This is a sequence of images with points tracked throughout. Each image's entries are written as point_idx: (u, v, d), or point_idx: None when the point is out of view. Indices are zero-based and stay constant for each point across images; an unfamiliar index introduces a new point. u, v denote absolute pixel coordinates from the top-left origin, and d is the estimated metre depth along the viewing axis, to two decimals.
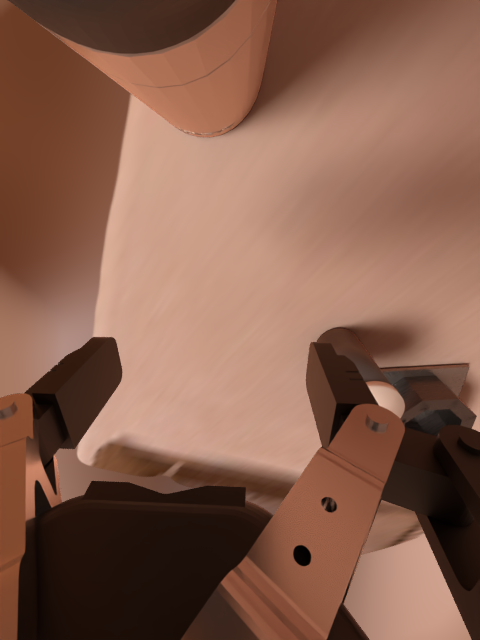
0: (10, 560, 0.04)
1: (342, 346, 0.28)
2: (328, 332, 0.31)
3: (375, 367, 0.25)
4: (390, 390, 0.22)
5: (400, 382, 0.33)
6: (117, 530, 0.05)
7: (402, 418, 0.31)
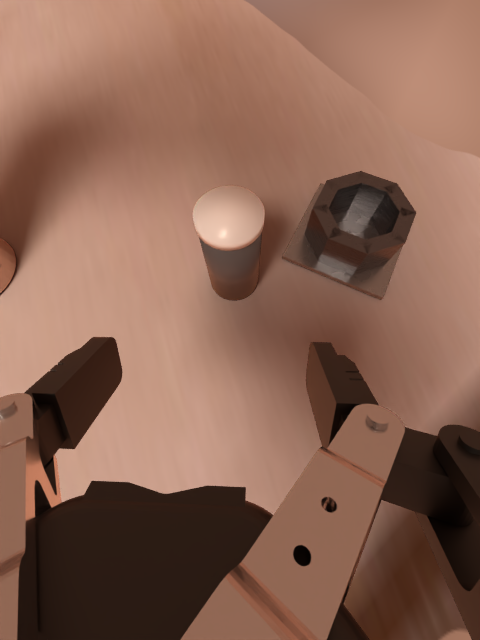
0: (10, 561, 0.04)
1: None
2: None
3: None
4: (209, 191, 0.21)
5: (307, 235, 0.30)
6: (117, 530, 0.05)
7: (330, 230, 0.26)
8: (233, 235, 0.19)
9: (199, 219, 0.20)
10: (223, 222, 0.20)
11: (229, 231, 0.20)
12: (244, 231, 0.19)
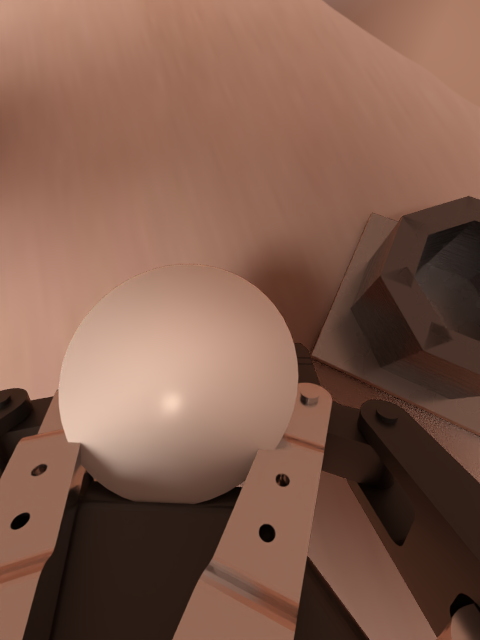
0: (39, 558, 0.04)
1: None
2: None
3: None
4: (124, 286, 0.07)
5: (357, 315, 0.16)
6: (117, 530, 0.05)
7: (425, 329, 0.12)
8: (189, 464, 0.05)
9: (79, 392, 0.06)
10: (158, 405, 0.06)
11: (176, 445, 0.06)
12: (228, 448, 0.05)
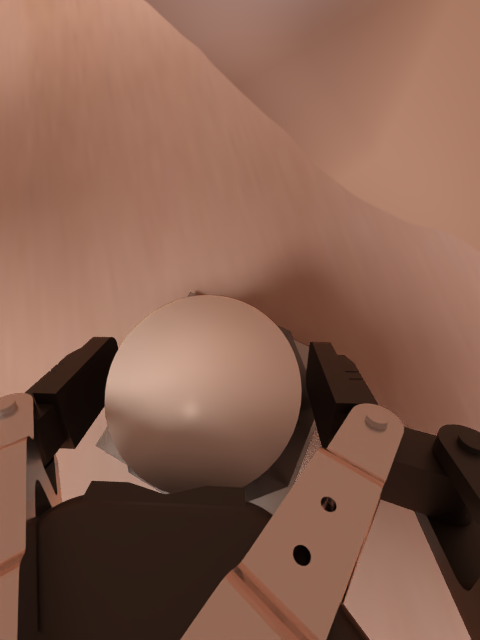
0: (10, 560, 0.04)
1: None
2: None
3: None
4: (155, 314, 0.08)
5: None
6: (117, 530, 0.05)
7: None
8: (214, 463, 0.07)
9: (121, 404, 0.07)
10: (187, 415, 0.07)
11: (203, 448, 0.07)
12: (246, 450, 0.07)
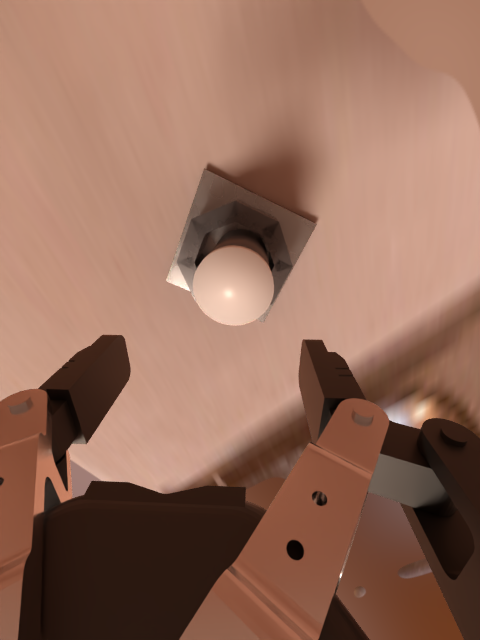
0: (17, 559, 0.04)
1: None
2: None
3: (215, 247, 0.20)
4: (207, 258, 0.17)
5: None
6: (117, 530, 0.05)
7: None
8: (240, 315, 0.19)
9: (201, 297, 0.18)
10: (228, 300, 0.18)
11: (235, 311, 0.18)
12: (251, 311, 0.18)
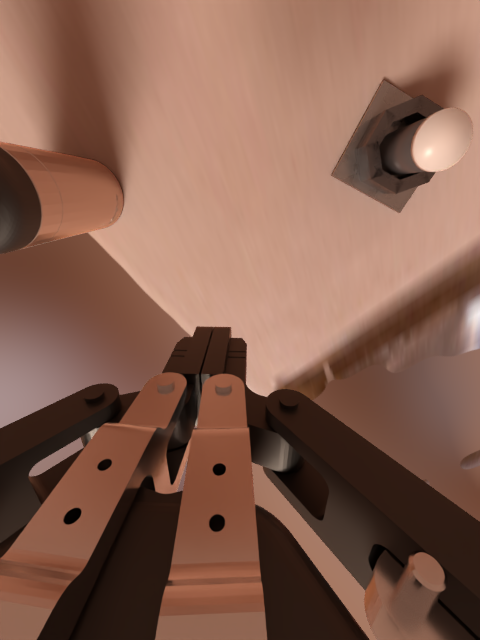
0: (69, 571, 0.04)
1: (389, 145, 0.32)
2: None
3: (416, 122, 0.29)
4: (433, 116, 0.26)
5: (356, 155, 0.36)
6: (117, 530, 0.05)
7: (374, 170, 0.33)
8: (442, 163, 0.27)
9: (420, 148, 0.27)
10: (437, 150, 0.27)
11: (440, 159, 0.27)
12: (450, 159, 0.27)
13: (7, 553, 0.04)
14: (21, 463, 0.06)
